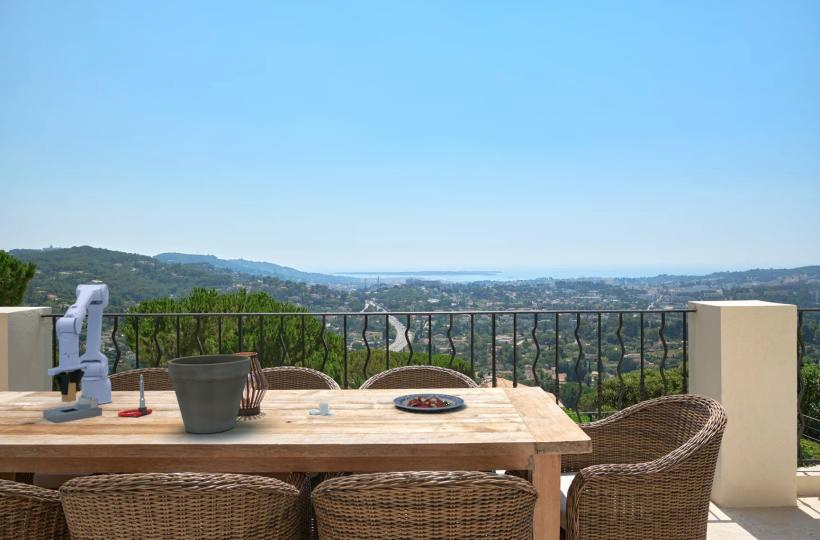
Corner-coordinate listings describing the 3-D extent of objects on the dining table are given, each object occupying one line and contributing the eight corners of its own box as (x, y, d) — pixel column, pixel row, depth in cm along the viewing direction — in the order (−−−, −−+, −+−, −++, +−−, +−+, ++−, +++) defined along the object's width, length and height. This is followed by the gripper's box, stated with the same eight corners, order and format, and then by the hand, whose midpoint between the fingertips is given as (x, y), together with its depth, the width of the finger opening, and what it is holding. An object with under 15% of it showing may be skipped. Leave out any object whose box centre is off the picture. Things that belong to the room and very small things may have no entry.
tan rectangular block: (69, 400, 212) (69, 382, 212) (76, 400, 211) (75, 382, 211) (61, 401, 209) (61, 383, 209) (68, 402, 208) (68, 384, 208)
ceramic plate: (380, 411, 218) (380, 402, 218) (408, 397, 242) (408, 389, 242) (451, 417, 209) (451, 408, 209) (472, 402, 233) (472, 394, 233)
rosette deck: (86, 410, 221) (86, 393, 221) (101, 415, 213) (101, 397, 213) (43, 417, 210) (43, 399, 210) (57, 423, 202) (57, 404, 202)
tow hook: (111, 417, 212) (134, 418, 208) (110, 376, 212) (132, 376, 209) (133, 412, 220) (154, 412, 217) (131, 372, 221) (153, 372, 217)
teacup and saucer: (305, 415, 213) (305, 403, 213) (323, 411, 219) (323, 400, 219) (321, 419, 207) (321, 407, 207) (339, 415, 213) (339, 403, 213)
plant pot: (186, 418, 208) (186, 353, 208) (260, 418, 207) (260, 353, 207) (153, 438, 183) (153, 364, 183) (237, 438, 182) (236, 364, 182)
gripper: (78, 350, 218) (78, 389, 218) (40, 355, 204) (40, 396, 204) (93, 350, 215) (94, 390, 215) (56, 356, 202) (56, 398, 202)
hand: (69, 393), depth 210 cm, fingers closed on tan rectangular block, 3 cm apart
